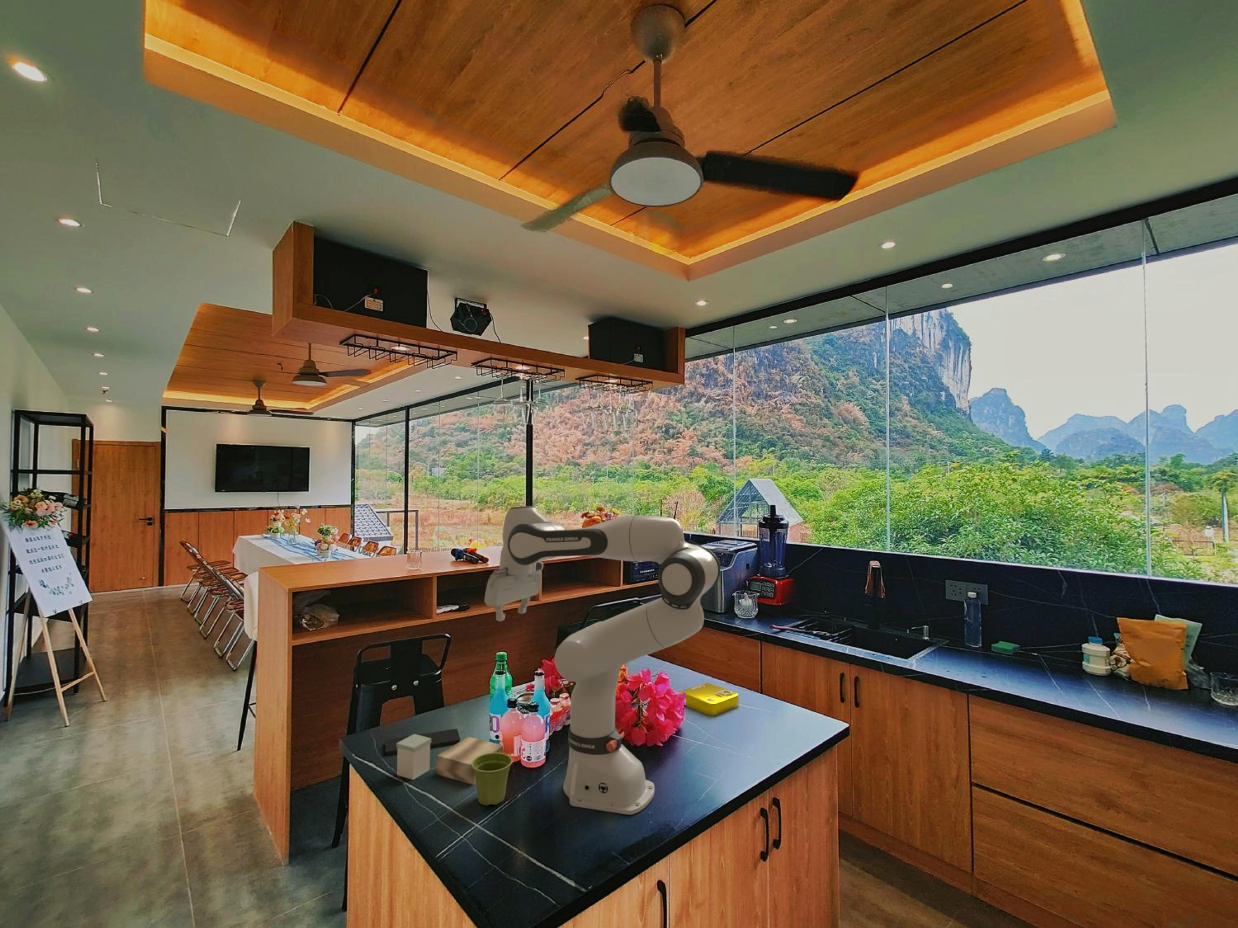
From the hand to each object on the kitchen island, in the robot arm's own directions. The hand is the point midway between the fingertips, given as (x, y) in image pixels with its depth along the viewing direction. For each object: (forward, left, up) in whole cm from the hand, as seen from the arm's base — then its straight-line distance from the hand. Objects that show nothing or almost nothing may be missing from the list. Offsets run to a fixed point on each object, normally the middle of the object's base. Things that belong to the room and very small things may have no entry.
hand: (511, 616), depth 149 cm
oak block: (+8, +6, -40) cm, 41 cm away
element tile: (-36, -64, -40) cm, 84 cm away
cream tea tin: (+20, +14, -39) cm, 46 cm away
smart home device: (+30, +1, -40) cm, 50 cm away
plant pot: (-6, +15, -39) cm, 42 cm away
